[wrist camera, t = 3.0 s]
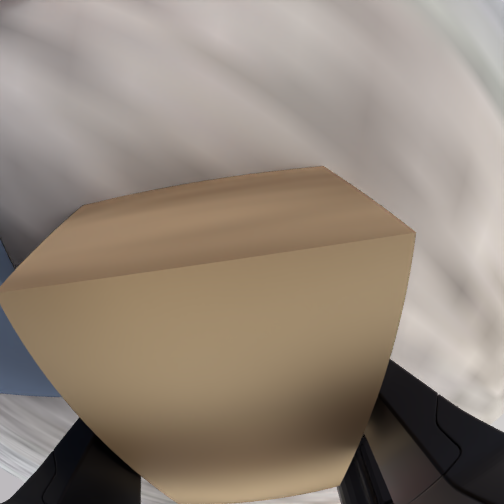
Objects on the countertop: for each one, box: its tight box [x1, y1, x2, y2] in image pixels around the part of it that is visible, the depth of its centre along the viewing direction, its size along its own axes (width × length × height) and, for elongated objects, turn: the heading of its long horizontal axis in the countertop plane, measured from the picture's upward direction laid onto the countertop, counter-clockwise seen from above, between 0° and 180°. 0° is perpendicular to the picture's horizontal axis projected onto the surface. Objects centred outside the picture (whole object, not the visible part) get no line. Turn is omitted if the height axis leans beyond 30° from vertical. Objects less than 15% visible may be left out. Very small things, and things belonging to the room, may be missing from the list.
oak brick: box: [0, 166, 416, 504], centre depth 7 cm, size 10×6×4 cm, turn 6°
